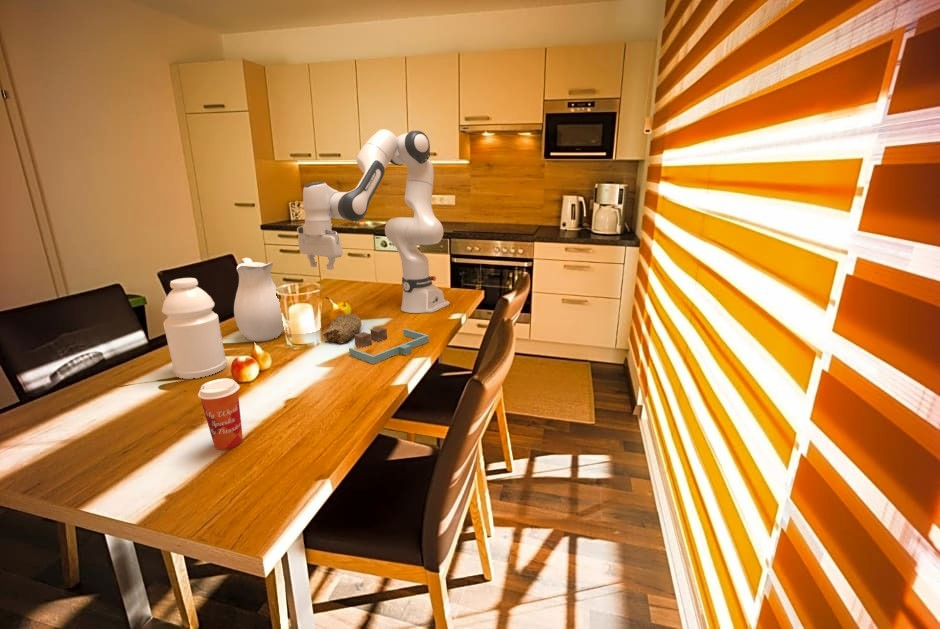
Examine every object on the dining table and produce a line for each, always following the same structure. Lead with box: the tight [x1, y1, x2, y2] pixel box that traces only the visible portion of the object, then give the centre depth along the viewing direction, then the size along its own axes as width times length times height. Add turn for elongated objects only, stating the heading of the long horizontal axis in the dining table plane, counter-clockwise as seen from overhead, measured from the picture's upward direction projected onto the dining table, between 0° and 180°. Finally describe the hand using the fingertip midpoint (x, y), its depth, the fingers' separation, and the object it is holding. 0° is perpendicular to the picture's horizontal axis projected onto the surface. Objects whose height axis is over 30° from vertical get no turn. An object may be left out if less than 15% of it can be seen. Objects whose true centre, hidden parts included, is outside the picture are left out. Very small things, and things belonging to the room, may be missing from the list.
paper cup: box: [198, 378, 244, 451], centre depth 99 cm, size 8×8×14 cm
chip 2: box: [369, 326, 388, 343], centre depth 162 cm, size 4×4×4 cm
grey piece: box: [348, 328, 430, 365], centre depth 153 cm, size 25×14×2 cm, turn 141°
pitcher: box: [233, 257, 284, 343], centre depth 166 cm, size 24×17×28 cm
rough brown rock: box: [322, 313, 362, 345], centre depth 167 cm, size 13×8×20 cm
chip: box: [353, 331, 373, 349], centre depth 157 cm, size 4×4×4 cm
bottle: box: [161, 277, 227, 380], centre depth 135 cm, size 14×14×28 cm
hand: (321, 268), depth 166 cm, fingers open, 8 cm apart
